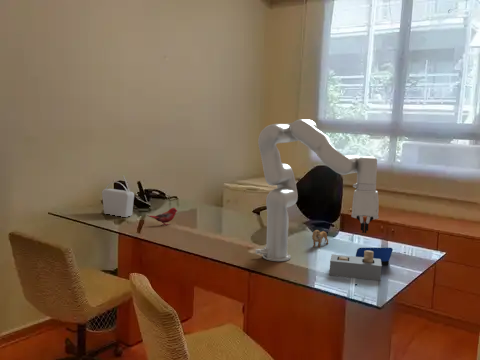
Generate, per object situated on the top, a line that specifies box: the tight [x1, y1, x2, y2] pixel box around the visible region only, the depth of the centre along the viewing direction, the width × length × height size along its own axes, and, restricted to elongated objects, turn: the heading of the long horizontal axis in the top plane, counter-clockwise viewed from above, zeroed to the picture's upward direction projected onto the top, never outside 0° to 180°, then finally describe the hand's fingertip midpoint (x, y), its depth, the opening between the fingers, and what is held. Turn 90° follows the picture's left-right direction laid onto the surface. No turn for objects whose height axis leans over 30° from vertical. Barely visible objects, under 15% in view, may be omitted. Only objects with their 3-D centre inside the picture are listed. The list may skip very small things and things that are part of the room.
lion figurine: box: [311, 229, 329, 248], centre depth 243 cm, size 15×5×9 cm, turn 150°
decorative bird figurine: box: [146, 207, 178, 226], centre depth 276 cm, size 3×18×10 cm, turn 112°
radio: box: [101, 175, 135, 218], centre depth 299 cm, size 22×8×25 cm, turn 58°
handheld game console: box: [355, 247, 394, 266], centre depth 216 cm, size 16×13×9 cm
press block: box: [329, 254, 383, 281], centre depth 200 cm, size 20×10×6 cm, turn 76°
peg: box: [364, 250, 374, 263], centre depth 198 cm, size 4×4×6 cm
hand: (364, 232), depth 197 cm, fingers closed
